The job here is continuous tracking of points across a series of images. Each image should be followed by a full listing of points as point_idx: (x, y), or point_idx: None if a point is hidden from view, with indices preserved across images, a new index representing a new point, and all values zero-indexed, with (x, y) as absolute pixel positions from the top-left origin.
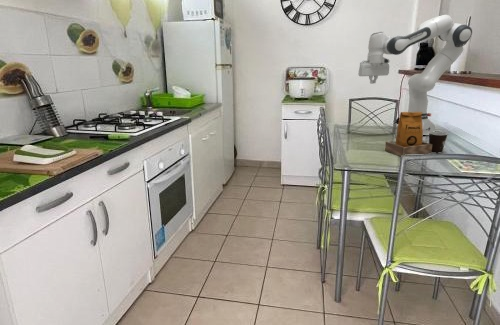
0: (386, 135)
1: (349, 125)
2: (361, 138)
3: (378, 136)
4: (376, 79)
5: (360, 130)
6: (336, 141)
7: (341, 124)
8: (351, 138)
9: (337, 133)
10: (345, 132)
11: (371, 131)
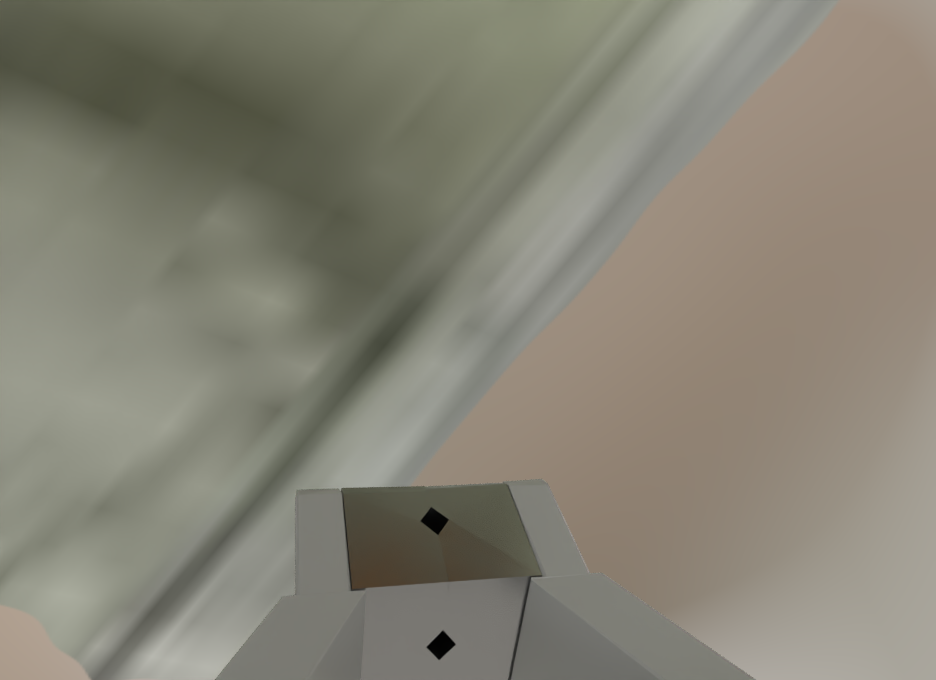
0: (23, 8)
1: (144, 616)
2: (457, 26)
3: (177, 12)
4: (256, 647)
5: (183, 384)
6: (788, 40)
7: (198, 670)
8: (557, 84)
9: (515, 349)
10: (409, 359)
11: (82, 293)
